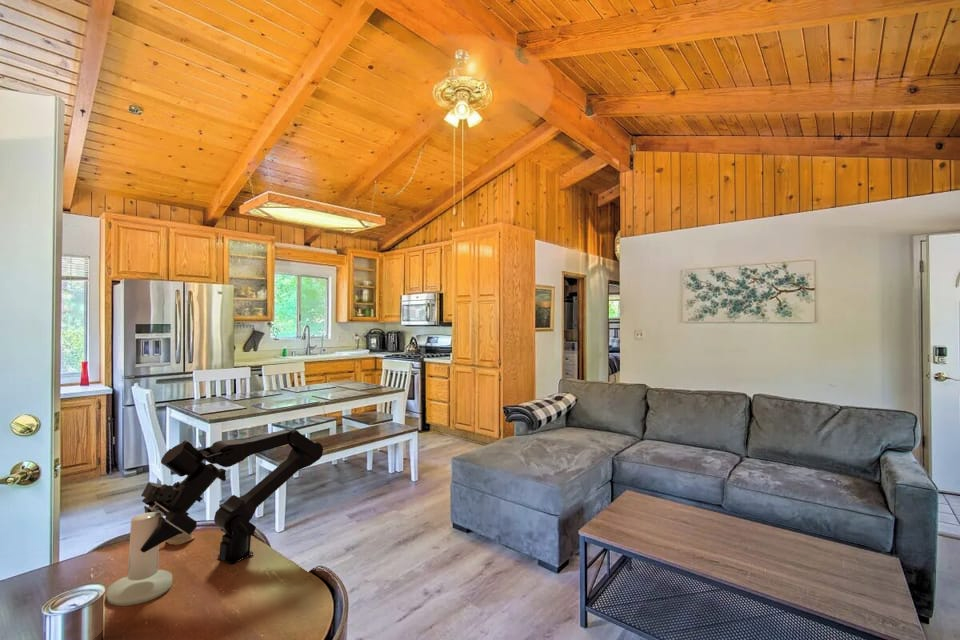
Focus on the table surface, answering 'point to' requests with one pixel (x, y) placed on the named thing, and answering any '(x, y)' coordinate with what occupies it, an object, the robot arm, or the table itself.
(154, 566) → the tall beige pillar
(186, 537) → the decorative ornament
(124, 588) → the sage dish
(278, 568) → the table surface
